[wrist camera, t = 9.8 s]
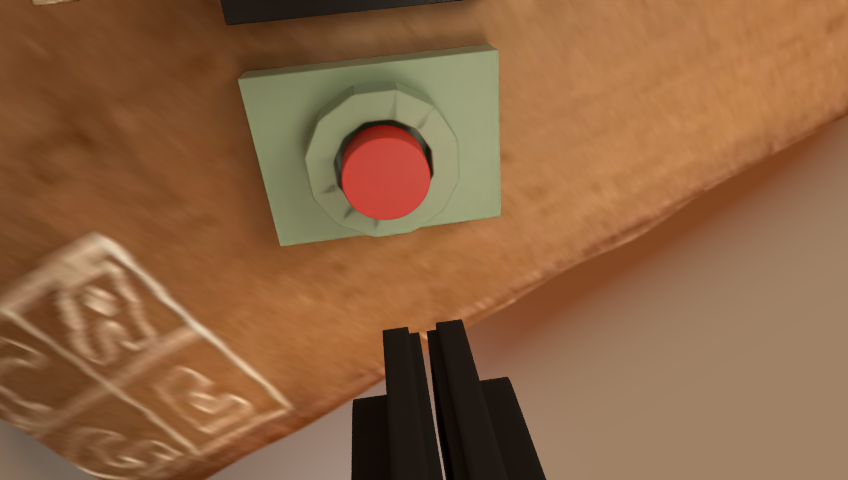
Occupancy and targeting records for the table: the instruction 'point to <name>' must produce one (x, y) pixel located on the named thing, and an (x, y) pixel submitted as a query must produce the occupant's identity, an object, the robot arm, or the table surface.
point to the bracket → (304, 8)
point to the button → (384, 172)
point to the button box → (366, 107)
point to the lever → (50, 2)
